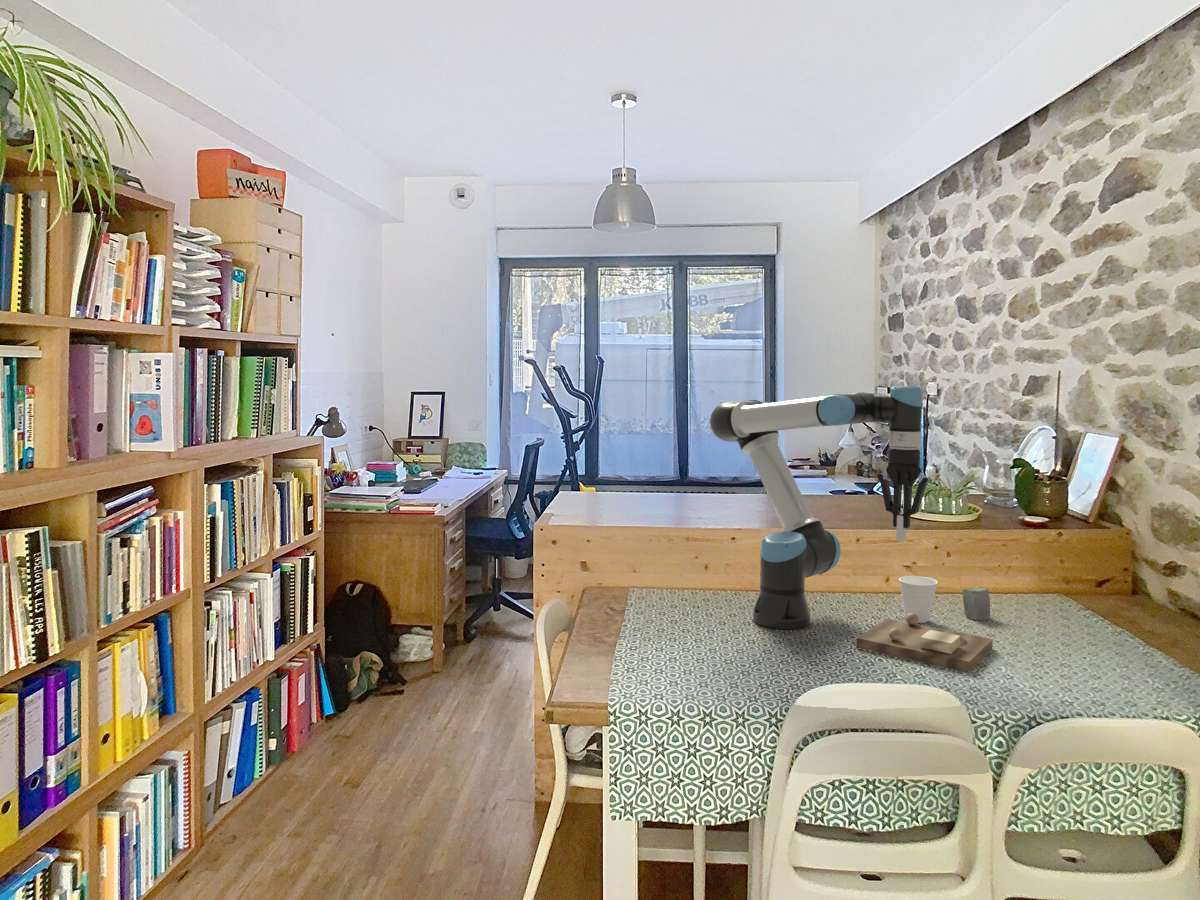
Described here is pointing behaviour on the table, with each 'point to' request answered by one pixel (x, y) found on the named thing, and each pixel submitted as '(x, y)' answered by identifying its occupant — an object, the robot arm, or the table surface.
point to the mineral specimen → (976, 603)
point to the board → (909, 648)
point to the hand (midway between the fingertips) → (900, 540)
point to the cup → (918, 596)
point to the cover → (940, 641)
